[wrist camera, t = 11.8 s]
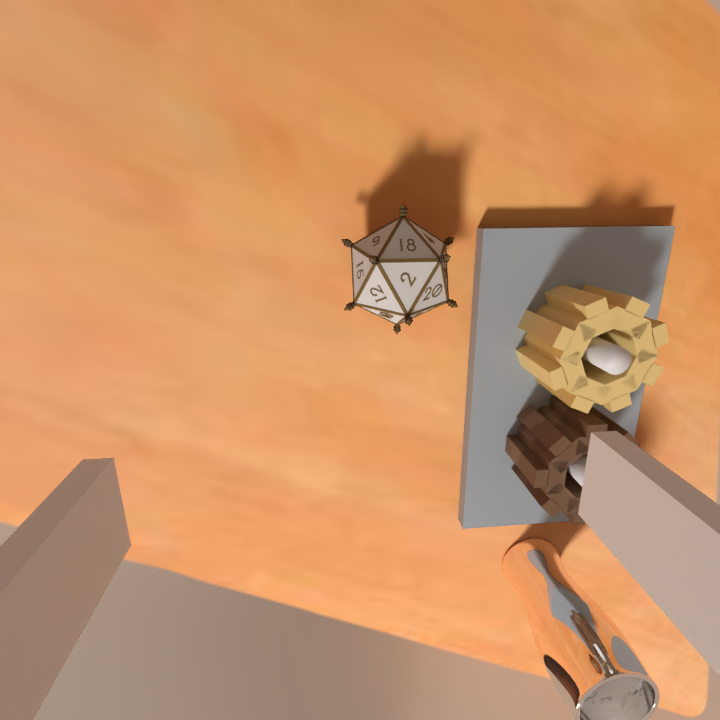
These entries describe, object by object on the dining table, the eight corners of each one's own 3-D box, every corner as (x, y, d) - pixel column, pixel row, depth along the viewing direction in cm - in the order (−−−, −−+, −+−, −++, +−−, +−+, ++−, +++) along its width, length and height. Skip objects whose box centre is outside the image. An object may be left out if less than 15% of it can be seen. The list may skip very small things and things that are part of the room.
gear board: (477, 228, 37) (521, 232, 29) (662, 225, 38) (753, 228, 30) (458, 518, 46) (488, 584, 38) (610, 508, 47) (670, 569, 39)
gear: (502, 310, 38) (535, 327, 32) (604, 266, 38) (655, 275, 32) (532, 401, 41) (567, 431, 35) (626, 360, 40) (677, 384, 35)
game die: (398, 243, 41) (490, 205, 33) (402, 339, 40) (497, 324, 32) (311, 226, 35) (395, 176, 27) (315, 336, 35) (402, 317, 27)
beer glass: (569, 570, 49) (672, 715, 35) (511, 598, 50) (589, 752, 35) (548, 523, 47) (648, 658, 33) (487, 553, 47) (560, 698, 33)
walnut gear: (510, 397, 40) (541, 427, 35) (606, 393, 41) (653, 421, 36) (501, 485, 43) (529, 527, 38) (592, 480, 44) (633, 519, 38)
